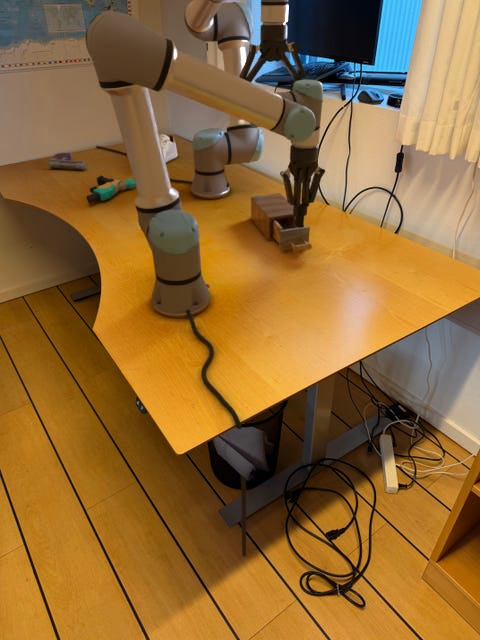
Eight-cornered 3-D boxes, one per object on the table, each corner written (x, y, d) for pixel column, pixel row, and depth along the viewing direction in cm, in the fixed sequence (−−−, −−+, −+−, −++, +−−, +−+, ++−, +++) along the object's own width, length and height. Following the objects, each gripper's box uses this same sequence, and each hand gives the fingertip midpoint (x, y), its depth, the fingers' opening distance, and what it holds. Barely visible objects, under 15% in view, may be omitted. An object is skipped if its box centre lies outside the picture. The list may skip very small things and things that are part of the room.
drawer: (317, 254, 144) (318, 235, 141) (288, 259, 142) (288, 240, 138) (288, 223, 162) (289, 206, 159) (262, 227, 160) (262, 210, 156)
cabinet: (299, 235, 157) (300, 213, 152) (268, 240, 154) (269, 217, 149) (279, 214, 171) (279, 192, 166) (250, 218, 168) (250, 196, 164)
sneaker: (133, 173, 208) (129, 144, 201) (161, 153, 230) (158, 127, 223) (155, 175, 205) (151, 146, 198) (180, 155, 227) (178, 129, 220)
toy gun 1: (97, 161, 222) (82, 172, 210) (61, 159, 225) (44, 169, 213) (96, 153, 220) (81, 163, 208) (59, 151, 223) (42, 161, 211)
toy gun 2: (64, 190, 179) (94, 197, 174) (109, 170, 198) (138, 176, 192) (66, 201, 182) (96, 209, 176) (111, 181, 200) (139, 187, 195)
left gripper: (320, 138, 132) (313, 218, 146) (276, 143, 129) (274, 223, 143) (332, 146, 126) (324, 228, 140) (287, 151, 123) (283, 234, 137)
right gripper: (309, 20, 138) (304, 99, 150) (227, 24, 132) (229, 106, 144) (320, 22, 132) (314, 104, 144) (235, 26, 126) (236, 111, 139)
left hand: (299, 225), depth 141 cm, fingers closed
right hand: (271, 105), depth 144 cm, fingers open, 13 cm apart
